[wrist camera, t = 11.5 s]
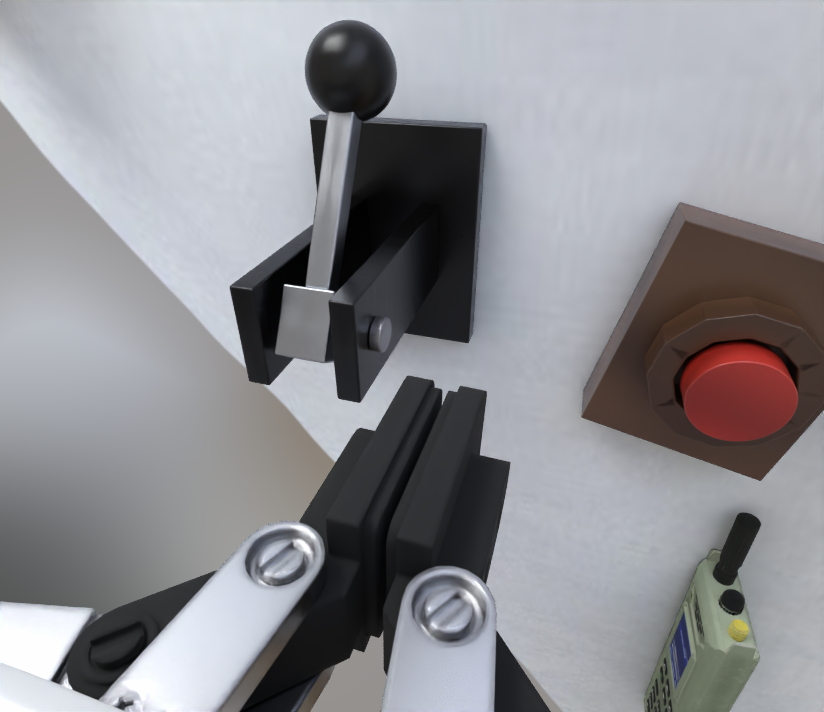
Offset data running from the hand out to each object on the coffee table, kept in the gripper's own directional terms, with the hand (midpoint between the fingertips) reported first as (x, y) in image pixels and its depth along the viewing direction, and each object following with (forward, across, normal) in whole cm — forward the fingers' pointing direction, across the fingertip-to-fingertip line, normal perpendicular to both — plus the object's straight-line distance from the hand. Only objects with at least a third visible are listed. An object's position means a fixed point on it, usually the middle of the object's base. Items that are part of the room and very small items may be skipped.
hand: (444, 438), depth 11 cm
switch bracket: (+20, +8, +3) cm, 21 cm away
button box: (+20, -10, +7) cm, 23 cm away
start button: (+16, -10, +7) cm, 20 cm away
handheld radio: (+20, -16, +30) cm, 40 cm away
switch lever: (+13, +8, 0) cm, 15 cm away
